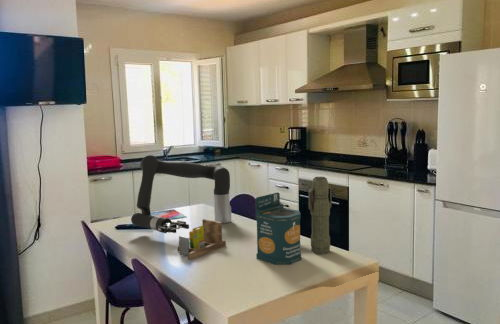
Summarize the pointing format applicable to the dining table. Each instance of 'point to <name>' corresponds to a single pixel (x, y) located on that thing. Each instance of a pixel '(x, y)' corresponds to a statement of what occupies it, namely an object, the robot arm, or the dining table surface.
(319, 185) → the thermos
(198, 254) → the rack
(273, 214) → the donation box
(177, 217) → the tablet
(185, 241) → the bookend
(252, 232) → the dining table surface
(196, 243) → the crayon box
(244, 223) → the dining table surface
